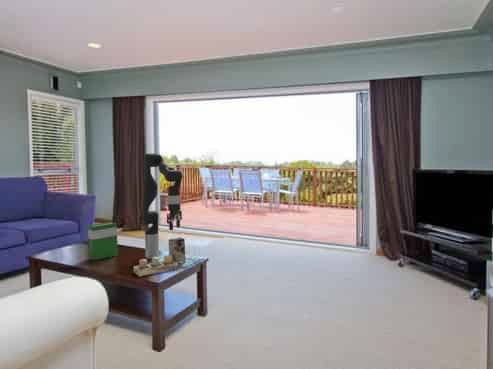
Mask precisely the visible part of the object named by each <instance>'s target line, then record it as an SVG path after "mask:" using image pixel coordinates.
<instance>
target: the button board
mask: <svg viewBox="0 0 493 369" xmlns="http://www.w3.org/2000/svg"><path fill="white" fill-rule="evenodd" d="M171 262H172V263H171V264H164V260H162V261H160V266H155V267H153V266H152V262H150V263H147V268H145V269H140V266H139V265H134V266H132V268H133V270H132V271H133V273H134V274H136V275H137V277H143V276H149V275H154V274H159V273H164V272H169V271H175V270H178V269H179V264H178V263H176V262H174V261H173V260H171Z"/></svg>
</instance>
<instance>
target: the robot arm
mask: <svg viewBox="0 0 493 369" xmlns="http://www.w3.org/2000/svg"><path fill="white" fill-rule="evenodd" d="M151 168H158V171H159V172H160V174H162V175H163V177H164V180H165V181H166V182H169V183H173V184H172V185H169V186H168V188H167V210H168V211H169V213H166V224H168V228H169V231H173V230H174V222H175V224H176V226H175V227H176V228H180V227H181V221H182V220H183V214H182V212H183V211H182V210H181V207H182V206H181V193H180V192H181V190H180V189H181V184H182V180H183V172H182V171H181V170H180V169H174V168H173V167H172V166H171V165H170V164H168V163H167V162H166V160H165V159H164V157H163V156H162V154H159V153H157V152H154V153H150V152H149V153H145V154H144V157H143V169H144V170H143V171H144V174H143V175H144V180H143V205H142V214H141V220H142V221H141V222H142V224H143V225H150V227H148V228H145V230H144V242H145V243H144V244H145V245H144V247H145V259H147V260H150V259H151V260H152V258H153V257H159V258H160V243H159V242H160V241H159V240H160V239H159V213H158V211H157V210H149V209H150V206H151V205H152V204H153V202H154V201H155V199H156V197H157V195H158V184H157V181H156V179H155V178H154V176H153V175H152V171H151Z"/></svg>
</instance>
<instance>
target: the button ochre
mask: <svg viewBox="0 0 493 369" xmlns="http://www.w3.org/2000/svg"><path fill="white" fill-rule="evenodd" d="M163 261H164V264H171V263H172V262H171V255H169V254H165V255H163Z"/></svg>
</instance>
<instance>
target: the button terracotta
mask: <svg viewBox="0 0 493 369" xmlns="http://www.w3.org/2000/svg"><path fill="white" fill-rule="evenodd" d="M138 262H139V265H138V266H140V269H145V268H147V264H148V259H147V258H142V259H139V260H138Z"/></svg>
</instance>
